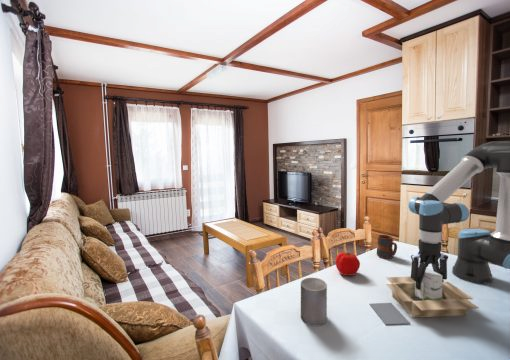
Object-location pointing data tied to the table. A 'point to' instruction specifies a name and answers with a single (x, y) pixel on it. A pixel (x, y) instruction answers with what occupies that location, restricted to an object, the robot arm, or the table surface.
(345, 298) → the table surface
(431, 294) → the ink box
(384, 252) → the mug
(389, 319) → the mat
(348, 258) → the tomato
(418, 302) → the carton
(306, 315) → the pillar candle
